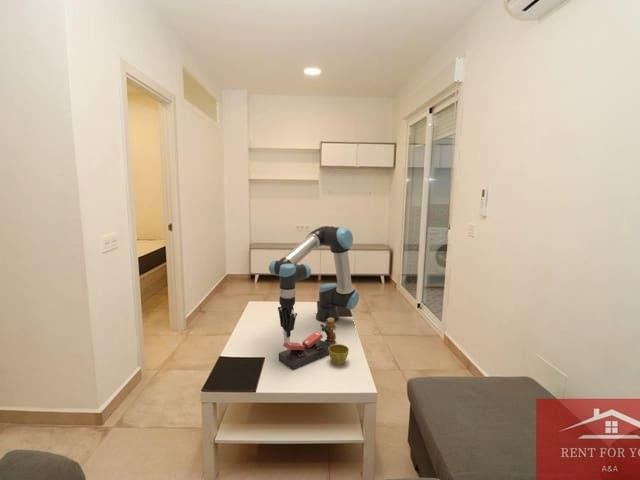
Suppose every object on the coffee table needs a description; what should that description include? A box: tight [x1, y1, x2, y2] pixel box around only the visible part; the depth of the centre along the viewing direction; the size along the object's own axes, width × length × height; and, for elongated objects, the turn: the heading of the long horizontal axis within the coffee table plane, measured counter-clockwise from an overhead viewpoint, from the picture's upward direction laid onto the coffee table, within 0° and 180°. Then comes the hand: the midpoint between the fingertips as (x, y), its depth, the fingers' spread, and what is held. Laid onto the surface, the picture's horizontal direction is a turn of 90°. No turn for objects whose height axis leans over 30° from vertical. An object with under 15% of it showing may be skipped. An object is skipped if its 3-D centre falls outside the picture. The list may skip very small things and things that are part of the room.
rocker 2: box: [301, 330, 324, 348], centre depth 179 cm, size 10×5×2 cm, turn 131°
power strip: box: [278, 339, 331, 371], centre depth 174 cm, size 26×12×6 cm, turn 131°
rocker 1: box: [282, 341, 305, 350], centre depth 172 cm, size 10×5×2 cm, turn 132°
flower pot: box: [328, 343, 350, 366], centre depth 170 cm, size 10×10×7 cm
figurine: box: [320, 318, 338, 345], centre depth 190 cm, size 9×8×15 cm
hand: (286, 342), depth 168 cm, fingers closed
